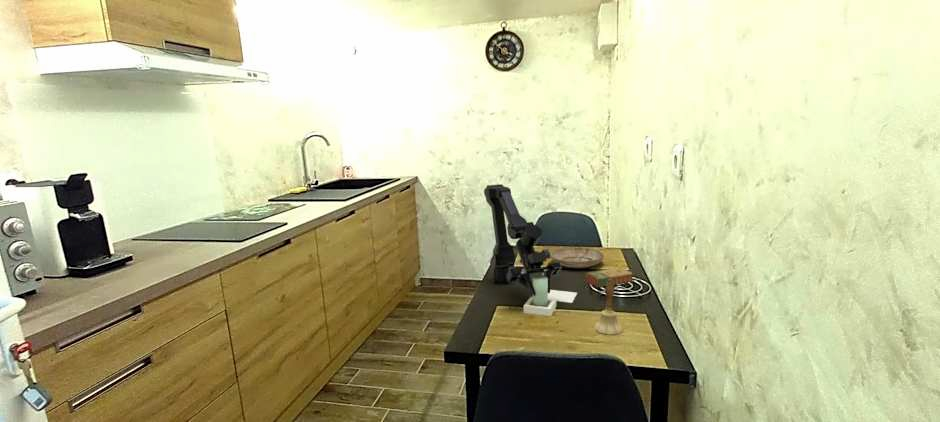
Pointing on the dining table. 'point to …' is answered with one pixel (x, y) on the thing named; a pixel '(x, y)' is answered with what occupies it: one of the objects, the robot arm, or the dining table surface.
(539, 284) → the light green piece
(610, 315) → the hand bell
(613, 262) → the dining table surface
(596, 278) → the carton
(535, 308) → the shallow square tray
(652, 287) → the dining table surface
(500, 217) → the robot arm
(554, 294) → the cream panel
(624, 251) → the dining table surface
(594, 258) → the ceramic bowl
